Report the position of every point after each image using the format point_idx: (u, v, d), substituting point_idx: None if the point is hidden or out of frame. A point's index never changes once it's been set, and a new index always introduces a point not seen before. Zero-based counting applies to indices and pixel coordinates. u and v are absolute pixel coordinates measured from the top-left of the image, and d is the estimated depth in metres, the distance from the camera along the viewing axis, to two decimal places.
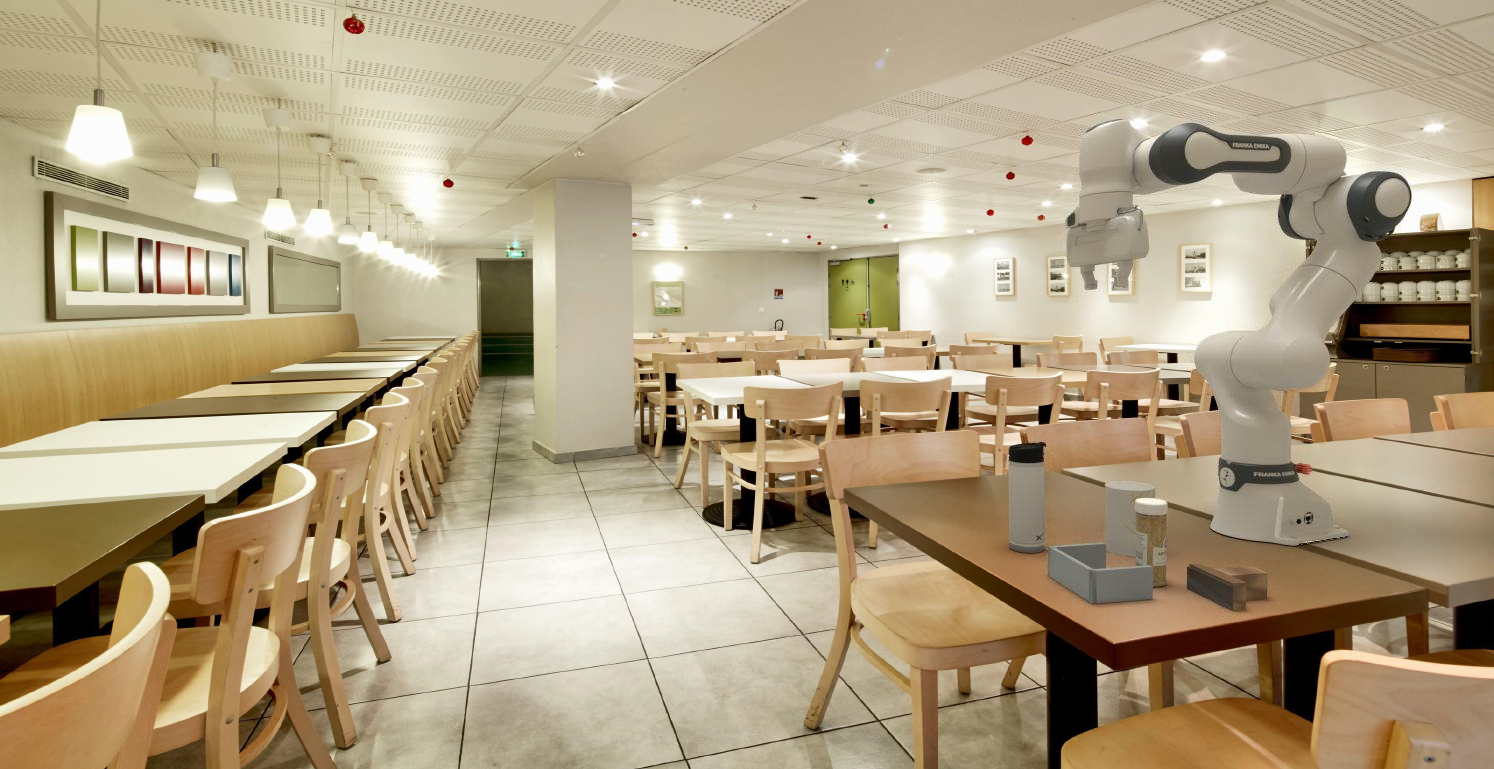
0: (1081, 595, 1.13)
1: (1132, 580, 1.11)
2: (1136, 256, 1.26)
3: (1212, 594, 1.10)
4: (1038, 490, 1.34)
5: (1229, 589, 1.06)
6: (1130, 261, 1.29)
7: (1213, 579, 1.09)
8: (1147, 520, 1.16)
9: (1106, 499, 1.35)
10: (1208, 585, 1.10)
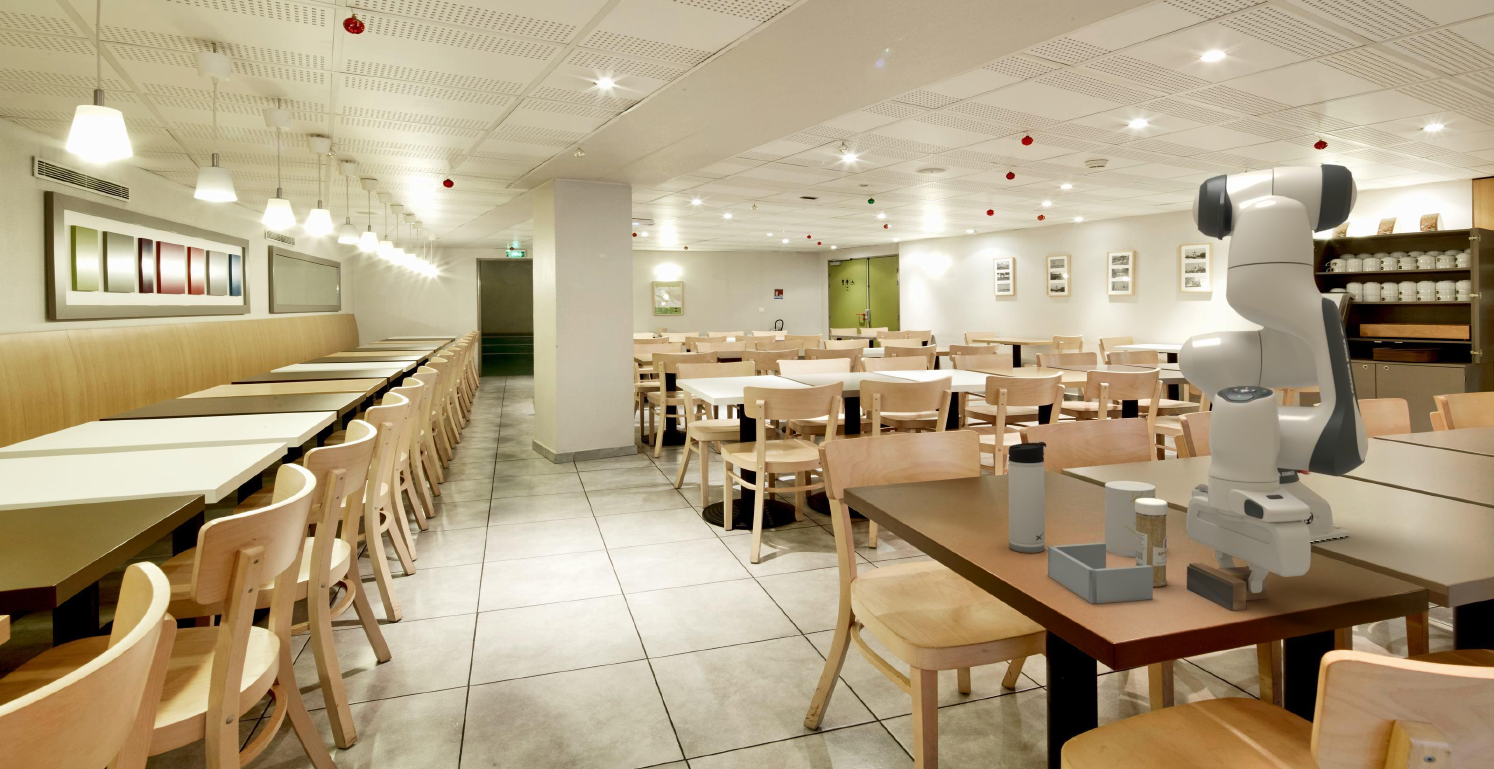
0: (1081, 595, 1.13)
1: (1132, 580, 1.11)
2: None
3: (1212, 594, 1.10)
4: (1038, 490, 1.34)
5: (1229, 589, 1.06)
6: (1218, 549, 1.15)
7: (1213, 579, 1.09)
8: (1147, 521, 1.16)
9: (1106, 499, 1.35)
10: (1208, 585, 1.10)
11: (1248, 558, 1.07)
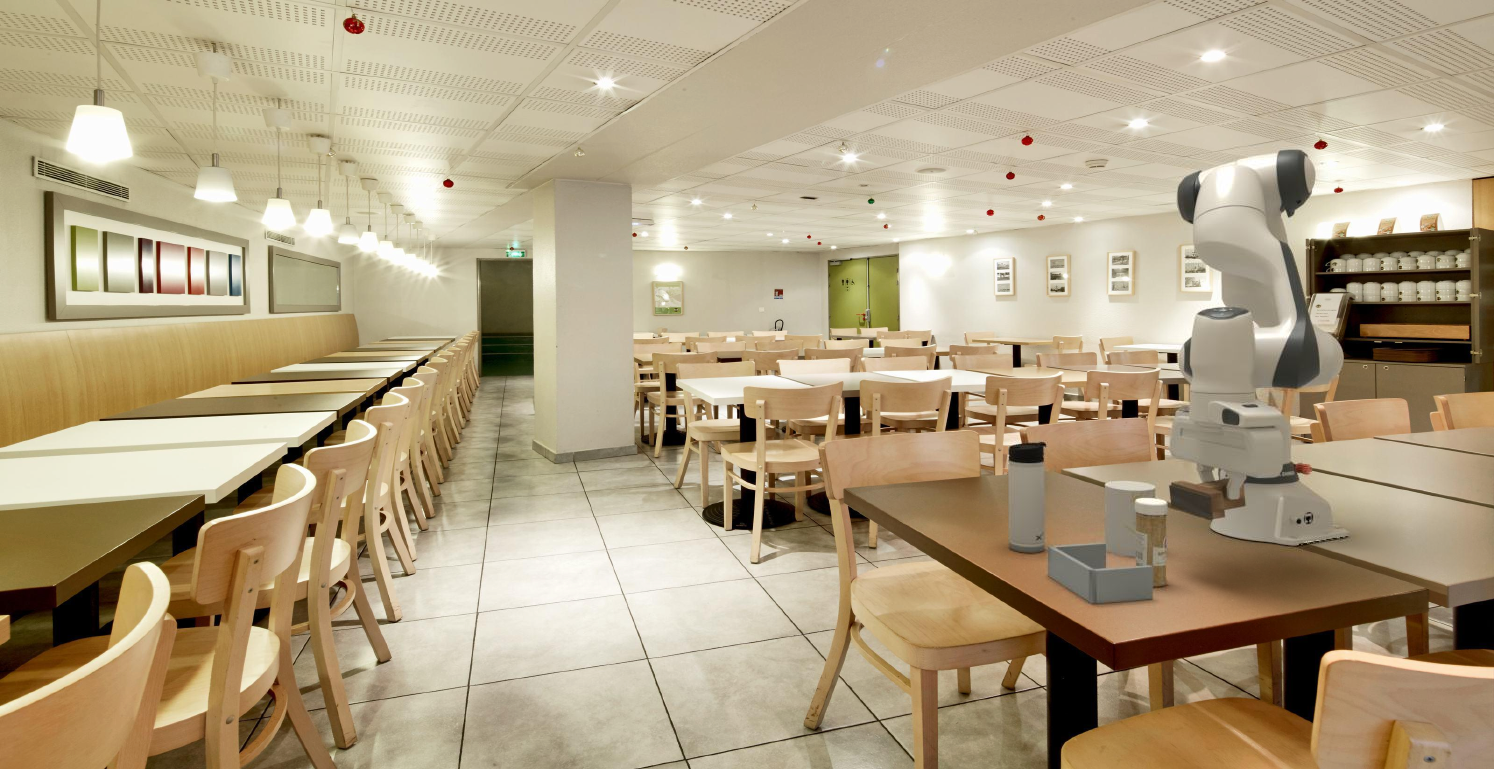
0: (1081, 595, 1.13)
1: (1132, 580, 1.11)
2: None
3: (1194, 507, 1.17)
4: (1038, 490, 1.34)
5: (1207, 500, 1.14)
6: (1199, 464, 1.22)
7: (1193, 493, 1.17)
8: (1147, 520, 1.16)
9: (1106, 499, 1.35)
10: (1189, 500, 1.18)
11: (1226, 466, 1.14)
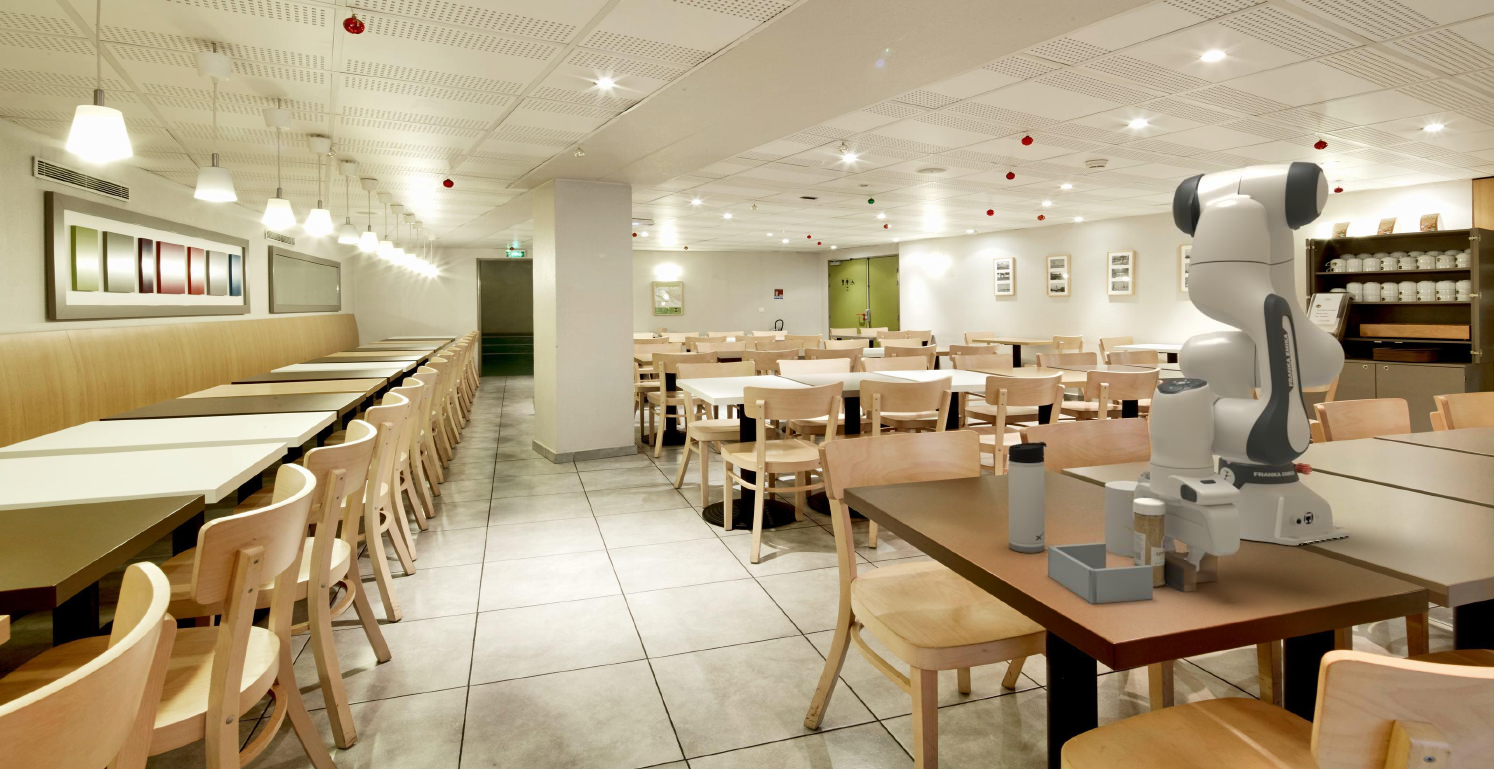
0: (1081, 595, 1.13)
1: (1132, 580, 1.11)
2: None
3: (1166, 577, 1.17)
4: (1038, 490, 1.34)
5: (1180, 572, 1.14)
6: None
7: (1166, 563, 1.17)
8: (1145, 521, 1.16)
9: (1106, 499, 1.35)
10: None
11: (1185, 540, 1.15)
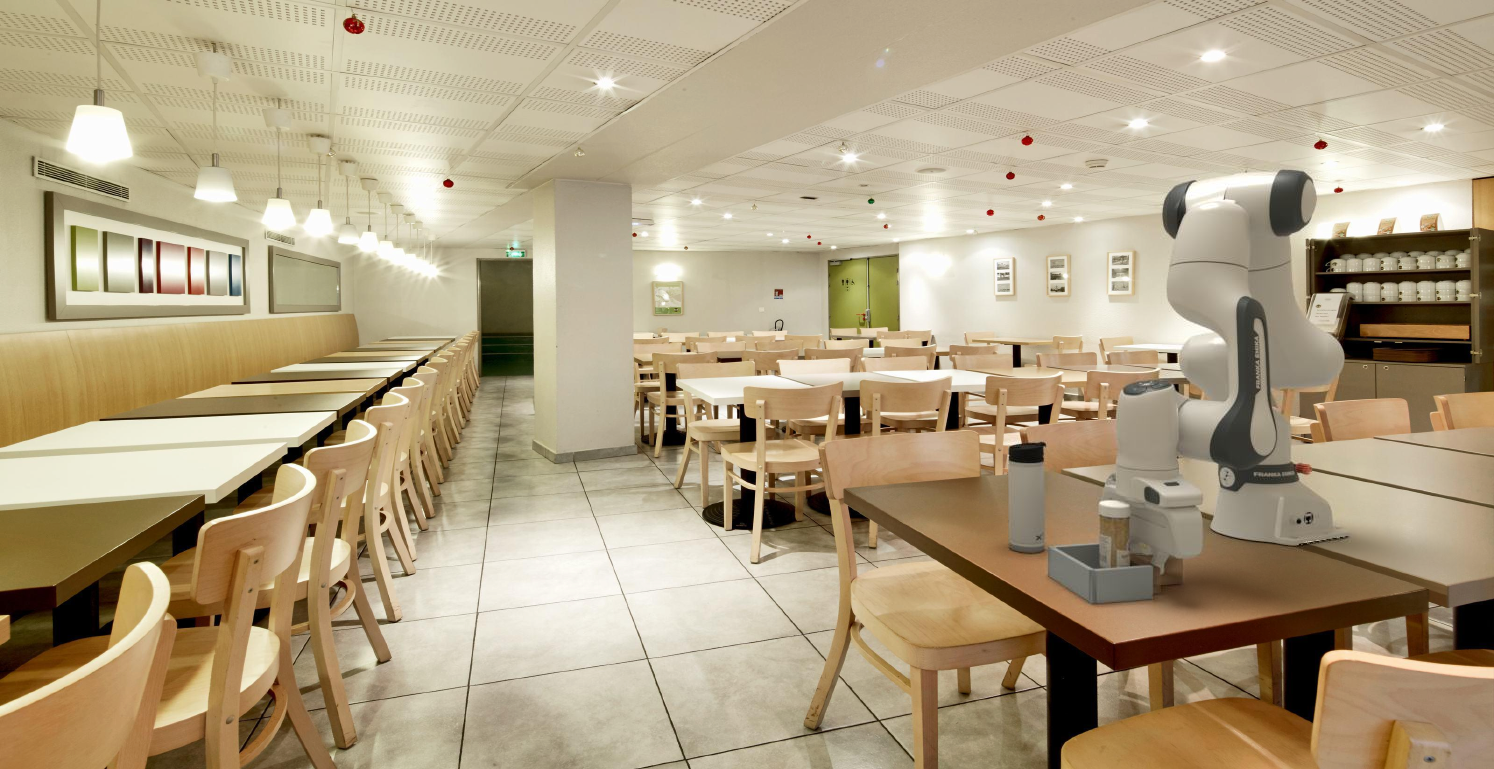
0: (1081, 595, 1.13)
1: (1132, 580, 1.11)
2: None
3: None
4: (1038, 490, 1.34)
5: None
6: None
7: (1131, 565, 1.16)
8: (1111, 523, 1.15)
9: None
10: None
11: (1149, 542, 1.14)
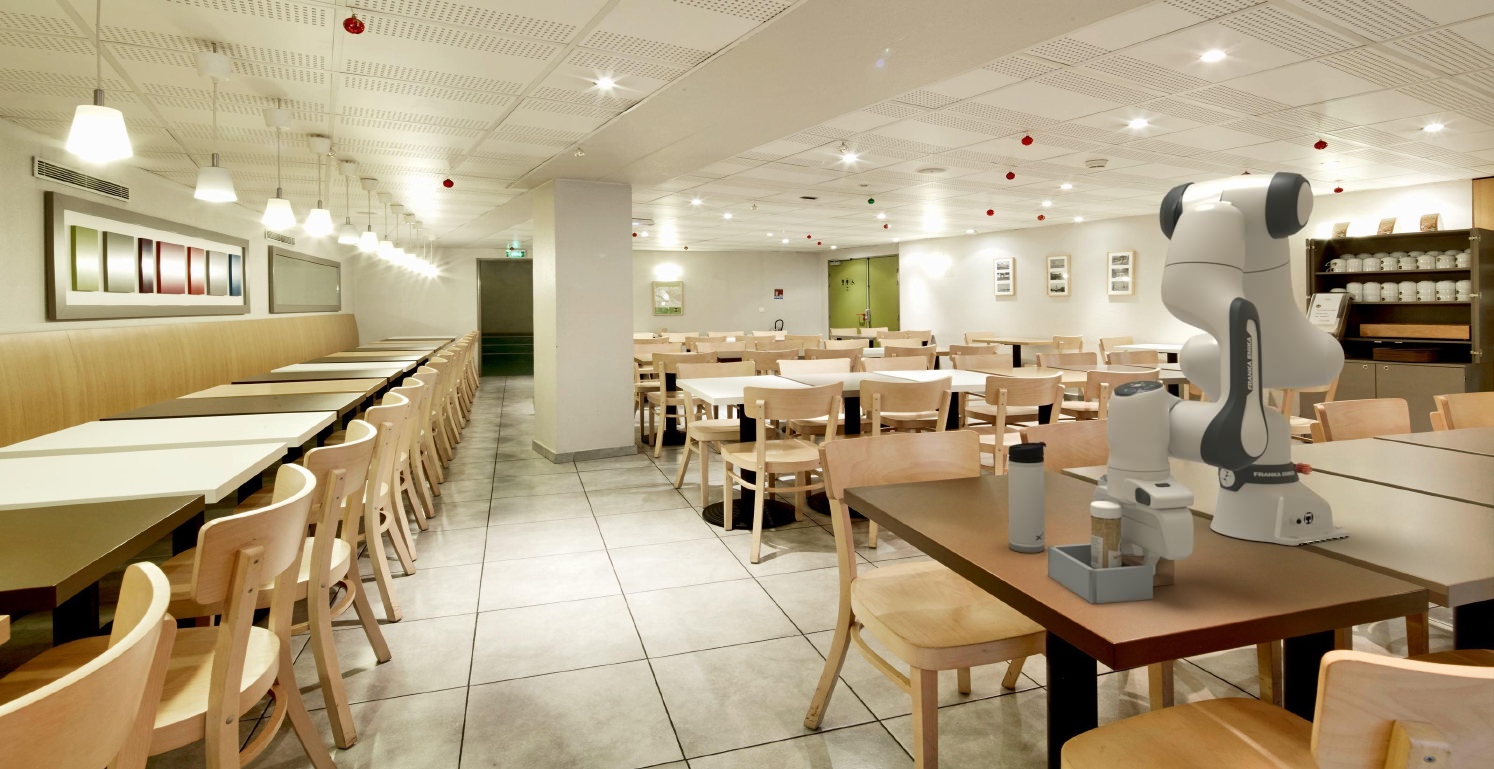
0: (1081, 595, 1.13)
1: (1132, 580, 1.11)
2: None
3: None
4: (1038, 490, 1.34)
5: None
6: None
7: (1123, 566, 1.16)
8: (1102, 524, 1.15)
9: None
10: None
11: (1140, 543, 1.14)
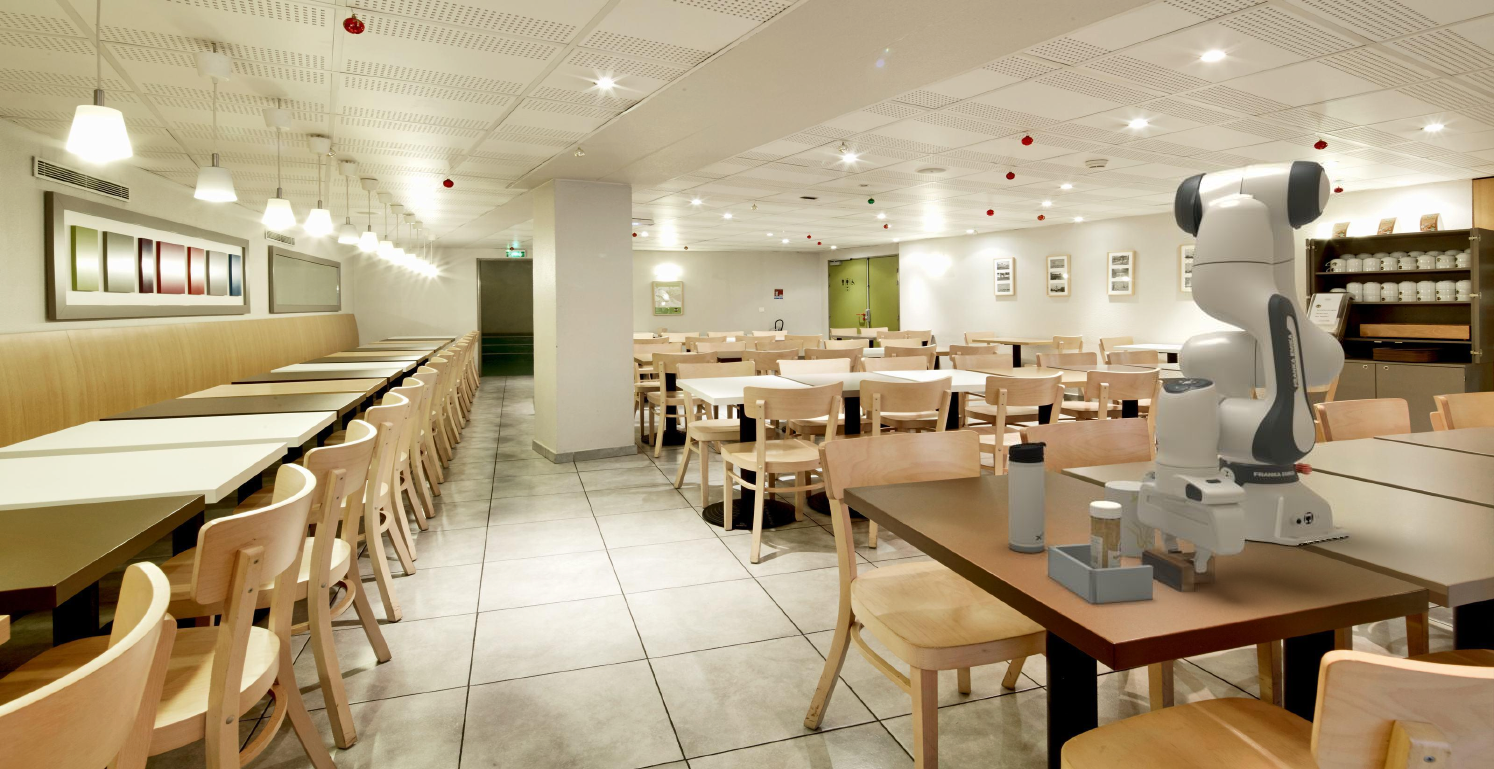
0: (1081, 595, 1.13)
1: (1132, 580, 1.11)
2: None
3: (1164, 577, 1.17)
4: (1038, 490, 1.34)
5: (1178, 572, 1.14)
6: None
7: (1164, 563, 1.17)
8: (1102, 524, 1.15)
9: (1106, 499, 1.35)
10: (1160, 569, 1.18)
11: (1190, 539, 1.15)
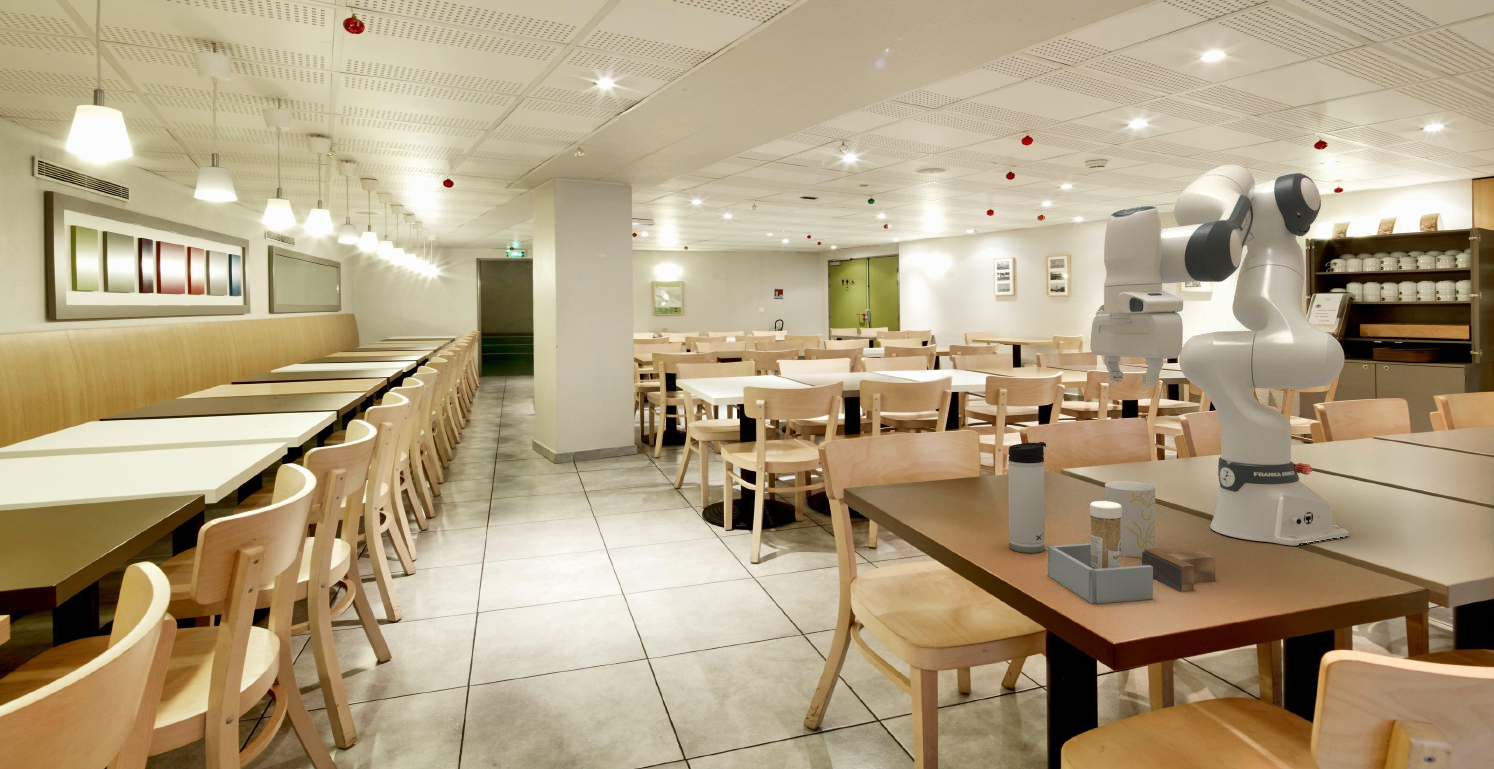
0: (1081, 595, 1.13)
1: (1132, 580, 1.11)
2: None
3: (1164, 577, 1.17)
4: (1038, 490, 1.34)
5: (1178, 572, 1.14)
6: None
7: (1164, 563, 1.17)
8: (1102, 524, 1.15)
9: (1106, 499, 1.35)
10: (1160, 569, 1.18)
11: (1134, 353, 1.23)
